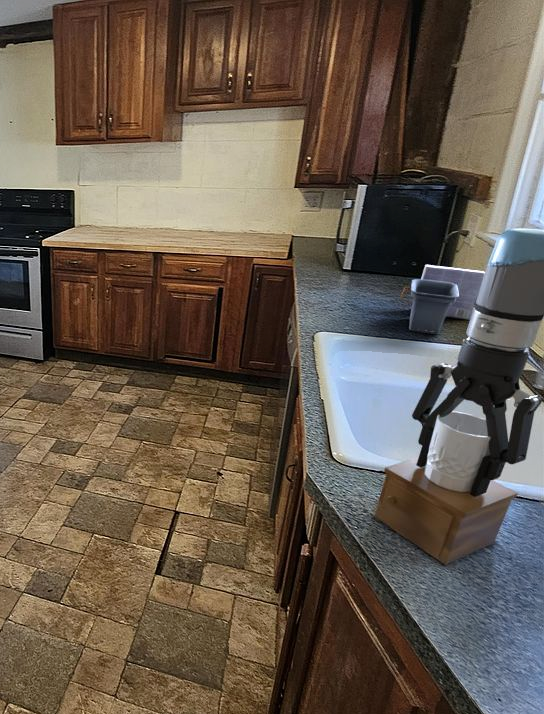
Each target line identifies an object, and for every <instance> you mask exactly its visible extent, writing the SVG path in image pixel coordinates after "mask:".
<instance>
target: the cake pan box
mask: <svg viewBox="0 0 544 714" xmlns="http://www.w3.org/2000/svg"><path fill="white" fill-rule="evenodd" d="M484 274H485V271H482V270H474V269H473V270H472V269H464V268H456V267H448V266H440V265H433V264H432V265H431V264H425V265H424V268H423V271H422V275H421V277H420V279H423V280H432V281H440V282H448V283H453V284H456V285H457V287H458V291H459V297H456V301H455V302H454V303H450V306H449V308H448V311H447V314H446V316H445V318H453V319H454V318H455V319H462V320H466V321H467V320H468V321H470V319H471V316H472V313H473V310H474V307H475V304H476V300H477V297H478V294H479V290H480V287H481V284H482V281H483V277H484Z"/></svg>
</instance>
